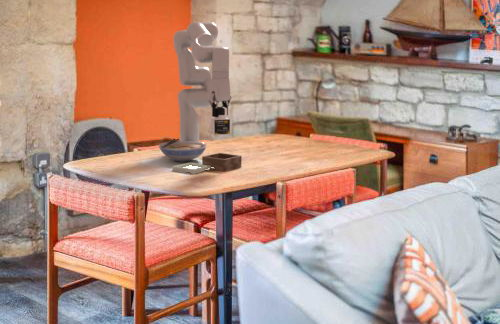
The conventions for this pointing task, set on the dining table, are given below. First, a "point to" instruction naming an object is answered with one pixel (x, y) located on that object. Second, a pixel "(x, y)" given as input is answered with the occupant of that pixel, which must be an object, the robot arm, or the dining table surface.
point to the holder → (222, 161)
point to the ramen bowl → (182, 149)
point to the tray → (192, 171)
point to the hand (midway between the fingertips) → (220, 115)
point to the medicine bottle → (220, 123)
